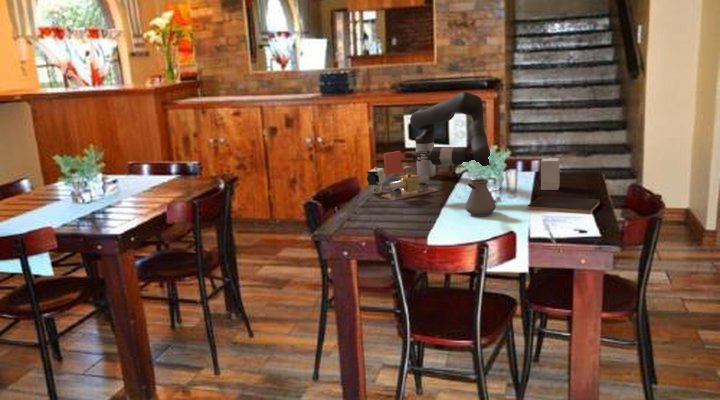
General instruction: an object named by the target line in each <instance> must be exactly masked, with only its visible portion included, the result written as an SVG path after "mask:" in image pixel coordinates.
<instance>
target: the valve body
mask: <svg viewBox="0 0 720 400" xmlns="http://www.w3.org/2000/svg"><path fill="white" fill-rule="evenodd" d="M405 172H406V174H404V175H399V176H398V181H393V182H389V183H388V189H389V193H387V194H386V193H385V194H382V195H381V198H383V197H384V199H387V198H388V200H391V201H397V200H398V201H399V200H401V199H408V198H411V197H416V196H420V195H425V194H429V193H435V192H439V191H438V190H439V189H438V188H435V187H430V186H429V183H430V177H428V176H421V177H419V176H418V175H416V174H411V172H412V171H405Z"/></svg>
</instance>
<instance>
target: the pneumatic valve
mask: <svg viewBox="0 0 720 400" xmlns="http://www.w3.org/2000/svg"><path fill="white" fill-rule="evenodd" d="M366 173H367V176H366V181H367V184H368V186H372V193H374V194H378V195H379V193H380V194H382V193H383V188H382V187H383V185H382V183H385V182H386V180H387V174H385V167H376V166H375V167H374V168H372V169H369V170H367V172H366Z"/></svg>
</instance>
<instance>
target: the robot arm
mask: <svg viewBox="0 0 720 400" xmlns="http://www.w3.org/2000/svg"><path fill="white" fill-rule="evenodd" d="M456 113H460V114H464V115H466V116H470V117H471V119H472V123H471V124H470V125H469V127H468V130H467V131H468V132H467V134H468V139H469V143H470V148H471V152H470V151H469V149H468V148H466V147H452V146H435V140H434V139H435V135H436V134H435V125H437V124H439V125H440V124H443V123H447V122H449V121H451V120H452V119H453V118H454V116H455V114H456ZM409 123H410V126H411V127H412V128H413V129H414V130H418V131H420V130H423V131H422V132H421V134H419V135H417V136H416V137H415V138H414V139H415V140H414V141H415V152H405V153H404V159H412V160H413V161H416V173H417V175H418V176H419V177H421V176H428V177H429V178H433V177H436V166H451V165H457V166H458V165H459V166H461V164H462V163H463V162H469V161H471V160H475V161H476V162H479V163H480V164H481V165H482V166H487V165H489V159H488V157H489V156H490V153H491V149H490V147H489V144H488V139H487V133H486V131H485V125H484V105H483V99H482V97H480V96H479V95H477V94H475V93H470V92H468V91H461V92H459V93H457V94H456V95H454V96H452V97H451V98H449V99H446V100H444V101H440V102H438V103H436V104H434V105H431V106H430V107H427V108H426V109H424V110H418V111H414V112H413V113H412V114H411V116H410V119H409Z"/></svg>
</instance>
